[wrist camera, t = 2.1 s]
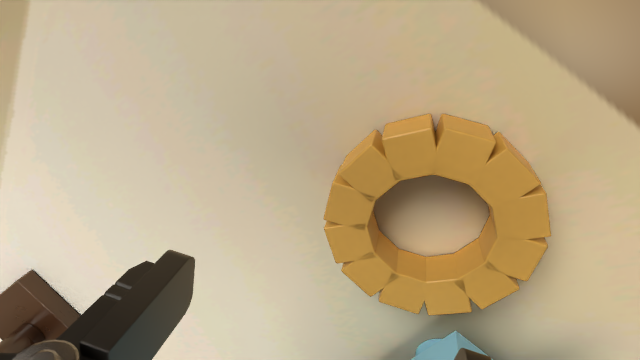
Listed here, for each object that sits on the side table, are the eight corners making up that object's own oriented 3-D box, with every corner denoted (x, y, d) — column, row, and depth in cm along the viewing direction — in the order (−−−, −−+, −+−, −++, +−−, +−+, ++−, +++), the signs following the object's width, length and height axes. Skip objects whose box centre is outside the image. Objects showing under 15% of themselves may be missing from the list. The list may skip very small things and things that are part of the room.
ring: (297, 201, 20) (285, 221, 19) (439, 69, 16) (442, 79, 14) (421, 314, 22) (421, 343, 20) (582, 219, 18) (600, 245, 16)
